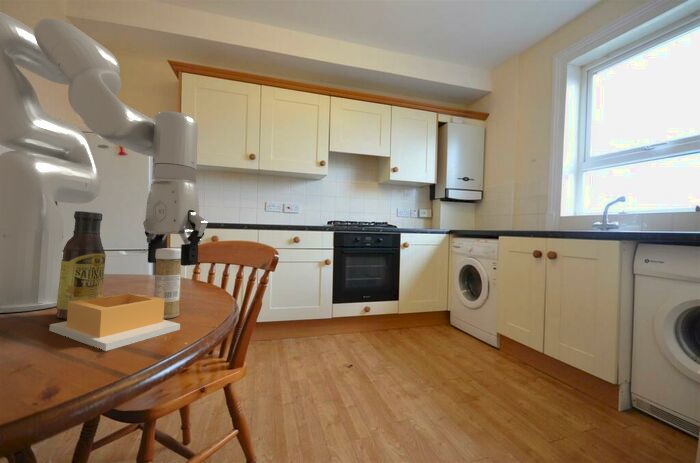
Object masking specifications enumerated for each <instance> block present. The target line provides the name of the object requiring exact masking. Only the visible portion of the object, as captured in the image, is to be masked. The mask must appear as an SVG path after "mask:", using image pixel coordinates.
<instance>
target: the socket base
mask: <svg viewBox="0 0 700 463" xmlns="http://www.w3.org/2000/svg"><path fill="white" fill-rule="evenodd" d="M164 301H165V299H162V298H157V297H154V296H152V295H151V296H150V295H146V294H141V293H137V292H133V291H132V292H127V293H125V292H124V293H119V294H118V293H117V294H112V295H105V296H102V297H97V298H90V299H83V300H76V301H69V302H68V314H67V319H66V321H61V322H56V323H52V324H51V323H50V324H49V332H52V333H54V334H58V335H60V336H63V337H65V336H66V338H68V337H69V338H68V339H71V340H74V341H77V342H80V343H83V344H85V345H88V346H90V347H93V346H94V347H93V348H96V347H97V348H96V349H99V348H100V349H99V350H101V349H102V350H101V351H104V352H107V351H111V350H115V349H118V348H121V347H125V346H129V345H132V344H135V343H138V342H142V341H145V340H149V339H153V338H156V337H158V336H159V337H160V336H162V335H166V334H170V333H173V332H176V331H180V330H181V324H180V323H178V322H175V321H171V320H168V319H163V318H164Z"/></svg>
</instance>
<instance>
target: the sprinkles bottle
mask: <svg viewBox="0 0 700 463" xmlns="http://www.w3.org/2000/svg"><path fill="white" fill-rule="evenodd" d="M155 258H156V263H155V274H154V291H153V292H154V293H153V297H157V298H162V299H165V301H164V318H163V320H170V319H174V318H176V317H178V316H180V299H181V284H182V283H181V277H182V276H181V274H182V272H181V271H182V265H181V248H176V247H175V248H173V247H171V248H170V247H169V248H161V249H157V250H156V256H155Z"/></svg>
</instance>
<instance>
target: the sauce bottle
mask: <svg viewBox="0 0 700 463" xmlns="http://www.w3.org/2000/svg"><path fill="white" fill-rule="evenodd" d="M73 218H74V220H75V221H74V229H73V234H72V235H73V236H72V237H71V238H70V239H68V241H66V244H65V245H64V247H63V249H62V261H61V271H60V281H59V289H58V298H57V306H56V309H57V311H56V317H57V319H63V320H67V314H68V302H69V301H76V300H83V299H90V298H97V297H103V290H104V289H103V286H104V278H105V277H104V276H105V267H106V258H107V257H106V252H105V249H104V247H103V243H102V238H101V222H102V221H103V214H102V213H100V212H96V211H94V212H93V211H79V210H76V211H74V215H73Z"/></svg>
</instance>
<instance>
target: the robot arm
mask: <svg viewBox="0 0 700 463" xmlns="http://www.w3.org/2000/svg"><path fill="white" fill-rule="evenodd" d="M33 28H34V29H33ZM33 28H32V27H30V26H28V25H27V24H25V23H23V22H22V21H20V20H18V19H16V18H14V17H13V16H11V15H8V14H6V13H4V12H1V11H0V145H1V146H2V147H5V148H7V149H10V150H9V151H6V152H3V153H0V314H1V313H3V314H4V313H6V314H7V313H20V312H31V311H38V310H44V309H50V308H51V309H52V308H56V307H57V298H58V289H59V281H60V271H61V261H62V259H63V248H64V247H63V246H64V229H65V228H64V226H65V225H64V224H65V222H64V217H63V214H62V213H61V210H60V208H59V207H58V205H57V204H56V202H57V203H59V202H60V203H67V204H78V205H79V204H81V205H82V204H87V203H92V202H93V201H95V199H97V198H98V196H99V194H100V192H101V188H102V182H101V176H100V173H99V170H98V167H97V164H96V161H95V158H94V154H93V152H92V148H91V145H90V143H89V140H88V138H87V136H86V135H85V134H84V132H83V131H82V130H81V129H80V128H79V127H78V126H76V125H74V124H72V123H70V122H67V121H66V120H62V119H60V118H57V117H55V116H53V115H51V114H49V113H47V112H46V111H44V109H43V107H42V105H41V103H40V100H39V98H38V94H37V91H36V89H35V88H34V86H33V84H32V83H31V82H30V80H29V79H28V78H27V77H26V76H25V74H23V72H22V71H21V70H20V69H19V68H22V69H23V70H26V71H28V72H30V73H33V74H34V75H37V76H39V77H41V78H43V79H45V80H47V81H50V82H52V83H55V84H58V85H59V84H60V85H64V86H65V85H67V86H68V89H67V92H68V93H67V96H68V102H69V105H70V107H71V108H72V110H73V111H74V113H75V115H77V117H78V118H79V120H81V121H82V123H83V124H85V126H86V127H87V128H88V129H89V130H90V131H91V132H92V133H93V134H94V135H96V136H97V137H98V138H100V139H102V140H103V141H105V142H108V143H110V144H113V145H114V146H115V145H116V146H119V147H122V148H124V149H127V150H130V151H132V152H135V153H138V154H141V155H144V156H147V157H152V168H151V169H152V170H151V172H152V173H151V175H152V176H151V184H150V186H149V189H148V190H149V191H148V196H147V199H146V200H147V201H146V206H145V209H146V210H145V219H144V220H143V222H142V224H143V228H144V234H145V236H146V243H147V262H148V264H153V263H154V264H156V258H155V256H156V250H157V249H161V248H166V242H164V241H165V240H166V237H167V236H168V235H179V236H180V238H181V240H182V243H183V244H181V245H180V246H181V247H180V249H181V267H182V266H183V267H185V266H187V267H188V266H196V265H198V264H199V245H200V244H201V243H202V239H203V238H204V236H205V230H206V228H207V226H208V221H207V220H205V218H204V217H201V216H200V201H199V193H198V186H197V172H198V171H197V169H198V168H197V166H198V164H197V162H198V138H199V137H198V136H199V135H198V134H199V133H198V132H199V131H198V129H199V128H198V123H197V122H196V120H195V119H194V118H193V117H191V116H190V115H188V114H185V113H182V112H180V111H179V112H178V111H175V110H174V111H173V110H162V111H159V112H157V113H156V114H155V116H154V118H152V117H151V116H150V117H149V116H147V115H146V114H144V113H142V112H140V111H138V110H137V109H134V108H132V107H130V106H129V105H127V104H126V103H123V101H121V100H120V99H119V98H118V97H117V95H119V93H120V91H121V88H122V80H121V77H120V72H121V68H120V63H119V61H118V59H117V58H116V56H115V55H114V54H113V53H112V52H111V51H110V50H109V49H108V48H106V47H105V46H104V45H102V44H101V43H99V42H98V41H97V40H95V39H93V38H92V37H90V36H89V35H87V33H85V32H83V31H82V30H81V29H79V28H77V27H76V26H74V25H73V24H71V23H68V22H67V21H65V20H62V19H58V18H51V17H49V18H43V19H40V20H39V21H38V22H36V24H35V25H34V27H33ZM17 66H18V67H19V68H18V67H17Z"/></svg>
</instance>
